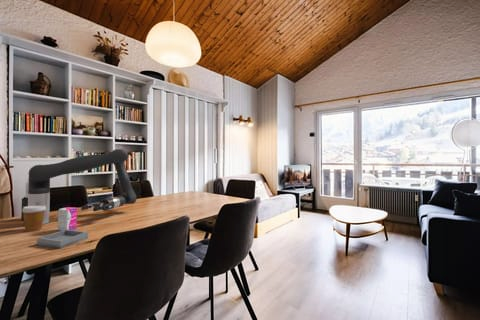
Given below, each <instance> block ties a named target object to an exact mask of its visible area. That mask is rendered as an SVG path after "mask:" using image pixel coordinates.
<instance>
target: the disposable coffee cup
mask: <svg viewBox="0 0 480 320" xmlns="http://www.w3.org/2000/svg"><path fill="white" fill-rule="evenodd" d="M45 210H46V207H45V205H33V206H26V207H23V210H22V209H21V212H23V216H24V220H23V222H24V229H25V232H28V233H29V232H31V233H32V232H37V231H40V230H42V229H43V225H44V224H43V220H44V214H45Z"/></svg>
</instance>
